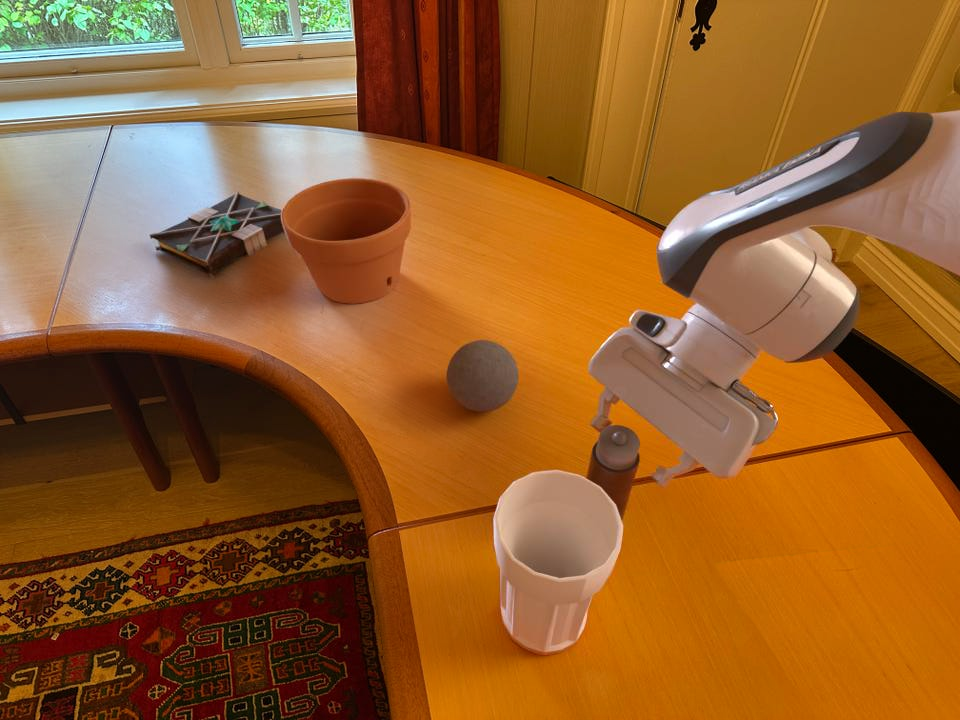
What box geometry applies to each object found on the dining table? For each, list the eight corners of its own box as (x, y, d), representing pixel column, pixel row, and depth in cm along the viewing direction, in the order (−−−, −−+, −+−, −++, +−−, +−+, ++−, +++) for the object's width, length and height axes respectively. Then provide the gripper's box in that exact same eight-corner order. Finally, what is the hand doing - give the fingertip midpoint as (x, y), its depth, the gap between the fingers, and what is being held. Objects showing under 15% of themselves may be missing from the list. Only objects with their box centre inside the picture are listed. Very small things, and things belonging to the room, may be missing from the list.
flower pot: (363, 333, 99) (350, 255, 89) (273, 291, 107) (252, 216, 97) (439, 271, 112) (435, 197, 102) (353, 238, 120) (342, 167, 110)
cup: (569, 550, 70) (588, 456, 58) (615, 645, 62) (648, 558, 50) (476, 579, 67) (476, 486, 55) (512, 682, 59) (521, 600, 48)
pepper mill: (632, 513, 74) (656, 437, 64) (603, 537, 71) (623, 461, 61) (600, 486, 77) (618, 408, 67) (571, 508, 74) (585, 431, 64)
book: (212, 279, 109) (203, 255, 106) (153, 251, 116) (144, 228, 113) (299, 227, 123) (294, 205, 120) (242, 205, 130) (236, 183, 126)
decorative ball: (509, 373, 92) (511, 322, 85) (523, 422, 84) (527, 370, 78) (443, 380, 90) (440, 329, 84) (452, 431, 83) (450, 379, 76)
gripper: (793, 419, 62) (707, 520, 65) (644, 318, 75) (577, 406, 77) (782, 409, 57) (690, 518, 60) (625, 302, 70) (553, 397, 72)
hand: (625, 454), depth 68 cm, fingers open, 8 cm apart
